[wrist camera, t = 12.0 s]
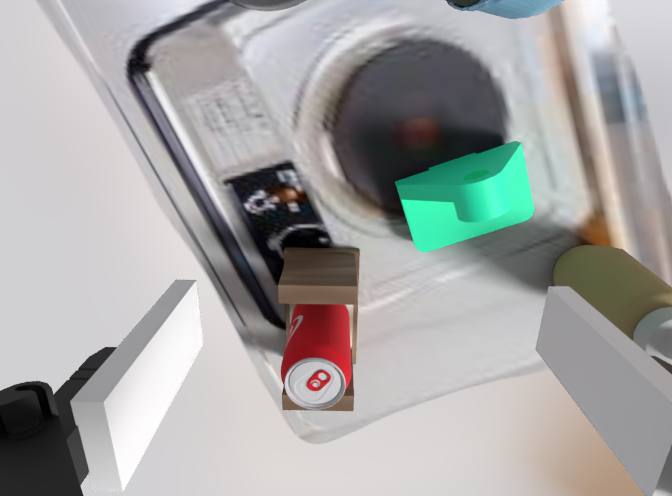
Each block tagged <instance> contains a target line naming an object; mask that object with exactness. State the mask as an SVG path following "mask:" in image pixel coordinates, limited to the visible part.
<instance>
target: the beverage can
mask: <svg viewBox="0 0 672 496" xmlns="http://www.w3.org/2000/svg"><path fill="white" fill-rule="evenodd" d="M281 378H282V381H283V384H284V386H285V390H286V393H287V395H288V396H289V398H290V399H291V400H292V401H293V402H294V403H296V404H297V405H299V406H301V407H304V408H307V409H313V410H320V409H325V408H328V407H331V406H332V405H334V404H336V403H337V402H338V401H339V400H340V399H341V397H342V396H343V394H344V392H345V390H346V388H347V387H348V385H349V382H350V379H351V347H350V318H349V311H348V309H347V307H346V305H339V304H296V306H295V308H294V311H293V315H292V319H291V324H290V329H289V333H288V338H287V342H286V347H285V352H284V356H283V361H282V366H281Z"/></svg>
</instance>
